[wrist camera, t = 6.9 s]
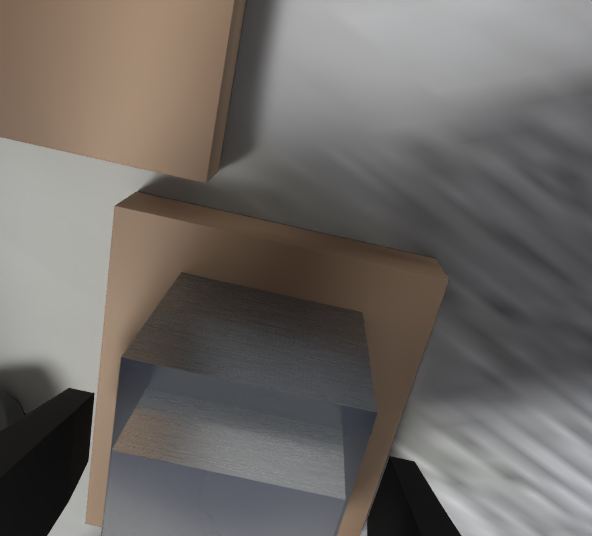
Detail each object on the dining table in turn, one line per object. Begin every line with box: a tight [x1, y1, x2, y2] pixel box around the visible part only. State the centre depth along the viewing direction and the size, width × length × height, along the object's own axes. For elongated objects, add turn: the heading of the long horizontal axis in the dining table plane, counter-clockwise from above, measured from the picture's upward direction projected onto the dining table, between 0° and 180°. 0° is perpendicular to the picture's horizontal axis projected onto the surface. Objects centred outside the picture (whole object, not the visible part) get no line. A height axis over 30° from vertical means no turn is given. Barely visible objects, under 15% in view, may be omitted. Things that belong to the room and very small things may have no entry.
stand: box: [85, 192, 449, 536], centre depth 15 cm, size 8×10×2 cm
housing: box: [101, 272, 378, 536], centre depth 11 cm, size 4×7×6 cm, turn 168°
